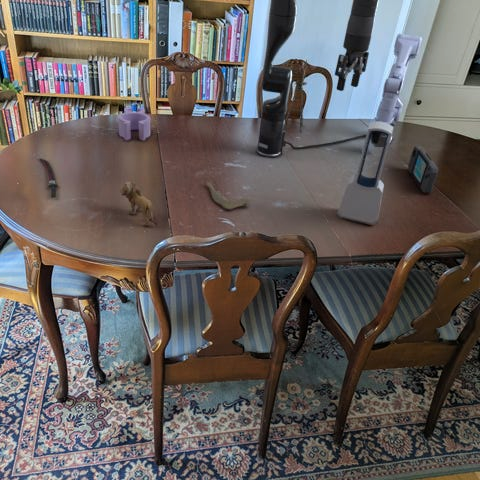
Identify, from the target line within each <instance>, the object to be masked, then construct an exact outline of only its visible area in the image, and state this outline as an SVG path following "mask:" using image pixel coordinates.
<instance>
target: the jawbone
mask: <svg viewBox="0 0 480 480" xmlns="http://www.w3.org/2000/svg"><path fill="white" fill-rule="evenodd" d="M205 185H206V186H207V187H208V188H209V191H210V194H211V197H212V199H213V201H214V202H215V203H217V204H218V205H219V206H222V207H223V209H225V210H228V211H230V210H234V209H237V208H239V207H243V208H247V206H248V202H249V203H253V202H254V199H251V198H247V197H244V198H240V199H236V200H229V199H228V198H227V197H225V196H224V195H223V194H221V192H220V190H216V189H215V188H214V186H213V184H212V183H211V181H205Z"/></svg>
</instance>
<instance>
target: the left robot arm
mask: <svg viewBox="0 0 480 480" xmlns="http://www.w3.org/2000/svg"><path fill="white" fill-rule="evenodd" d="M379 1H380V0H352V4H351V9H350V14H349V18H348V20H347V24H346V25H347V26H346V28H345V29H346V30H345V36H344V39H343V45H342V47H343V49H345V54H342V53H339V54H338V58H337V62H336V67H335V70H334V76H335V77H338V79H337V83H336V90H337V91H339V92H343V91H344V90H345V88H346V87H345V86H346V82H347V77H348V75H349V74H350V73H352V72H353V73H352V77H351V82H350V86H351V87H353V88H357V87H359V83H360V80H361V79H360V78H361V76H362V74H363V73H365V72H366V70H367V65H368V60H369V55H370V52H369V49H370V44H371V40H372V37H373V32H374V27H375V19H376V14H377V10H378V5H379ZM268 12H269V13H268V21H267V22H268V24H267V37H266V48H265V56H264V61H263V67H262V71H261V72H262V73H261V79H260V80H261V83H260V84H261V90H262V91H264V92H267V93H274V94H275V93H276V94H279V95H278V96H276V97H273V98H269V99H266V100H264V101H263V102H262V105H261V114H260V123H259V131H258V138H257V139H258V140H257V148H256V153H257V154H258V155H259V156H262V157H264V158H265V157H266V158H277V157H279V156H281V155H282V154H283V149H284V148H285V147H286V145H288V146H290V148H292V149H294V150H304V149H310V148H318V147H325V146H330V145H335V144H341V143H344V142H349V141H353V140H356V139H361V138H366V135H367V133H366V134H362V135H358V136H357V135H356V136H353V137H349V138H345V139H341V140H336V141H331V142H324V143H319V144H311V145H310V144H309V145H304V146H294V145H293V143H291V142H289V141H286V140H285V136H286V130H285V129H284V125H285V122H286V121H285V120H286V117H287V108H288V101H289V95H290V90H291V85H292V79H293V72H292V68H290V67H287V66H280V65H274V64H273V63H274V61H275V58H276V56H278V53H279V52H280V50H281V49H282V48H283V46H284V45H285V44H286V42H288V40H289V39H290V38H291V36H292V35H293V34H294V31H295V29H296V22H297V15H298V4H297V1H296V0H270V6H269V11H268ZM369 135H370V134H369Z"/></svg>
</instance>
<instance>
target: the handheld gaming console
mask: <svg viewBox="0 0 480 480" xmlns="http://www.w3.org/2000/svg"><path fill="white" fill-rule="evenodd" d="M407 169H408V171H409V173H410V176H411V177H412V179H413V180H414V181H415V183H416V184H417V186H418V187H419V189H420V190H421V192H423V193H424V194H427V195H429V194H431V193H432V191H433V189H434V186H435V183H436V180H437V178H438V175H439V168H438V166H437V165H436V164H435V162H434V161H433V160H432V158H431V157H430V156H429V155H428V154H427V152H426V151H425V150H424V148H423V147H422V146H419V145H418V146H417V145H416V146H414V147H413V149H412V152H411V155H410V158H409V162H408V165H407Z"/></svg>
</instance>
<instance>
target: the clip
mask: <svg viewBox="0 0 480 480" xmlns="http://www.w3.org/2000/svg"><path fill="white" fill-rule="evenodd" d="M132 109H133V108H132V107H131V106H128V107H125V108H124V110H123V113H120V114H119V115H118V116H117V117H118V118H117V119H118V135H119V136H120V137H121V138H123V139H124V141H129V140H131V139H132V134H131V131H132V130H133V131H134V130H135V131H138V140H140V141H142V142H143V141H146V139H147V138H149V137H150V136H151V116H150V115H149V114H147V113H146V111H145V109H144V108H143V107H139V106H138V107H136V109H137V111H135V112H134V111H132Z"/></svg>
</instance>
